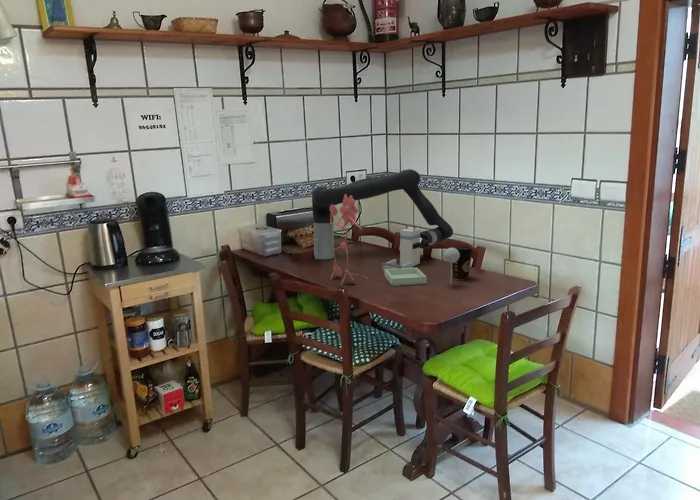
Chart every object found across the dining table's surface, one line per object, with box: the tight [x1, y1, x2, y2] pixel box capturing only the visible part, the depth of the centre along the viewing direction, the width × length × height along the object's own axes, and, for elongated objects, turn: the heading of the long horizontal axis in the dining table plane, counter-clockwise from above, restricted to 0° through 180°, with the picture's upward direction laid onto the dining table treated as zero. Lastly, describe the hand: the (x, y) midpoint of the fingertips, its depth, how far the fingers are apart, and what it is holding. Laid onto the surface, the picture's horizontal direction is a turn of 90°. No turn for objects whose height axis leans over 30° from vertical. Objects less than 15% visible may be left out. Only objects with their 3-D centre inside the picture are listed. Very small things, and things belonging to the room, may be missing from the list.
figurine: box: [329, 194, 369, 286], centre depth 219 cm, size 15×26×35 cm, turn 29°
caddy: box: [399, 223, 421, 268], centre depth 243 cm, size 8×6×18 cm
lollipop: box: [443, 247, 460, 286], centre depth 213 cm, size 6×6×15 cm
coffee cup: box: [452, 245, 474, 281], centre depth 222 cm, size 9×8×13 cm
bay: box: [381, 259, 413, 272], centre depth 236 cm, size 10×9×4 cm
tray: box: [383, 267, 428, 287], centre depth 221 cm, size 14×14×3 cm
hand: (407, 245), depth 241 cm, fingers closed on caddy, 5 cm apart
